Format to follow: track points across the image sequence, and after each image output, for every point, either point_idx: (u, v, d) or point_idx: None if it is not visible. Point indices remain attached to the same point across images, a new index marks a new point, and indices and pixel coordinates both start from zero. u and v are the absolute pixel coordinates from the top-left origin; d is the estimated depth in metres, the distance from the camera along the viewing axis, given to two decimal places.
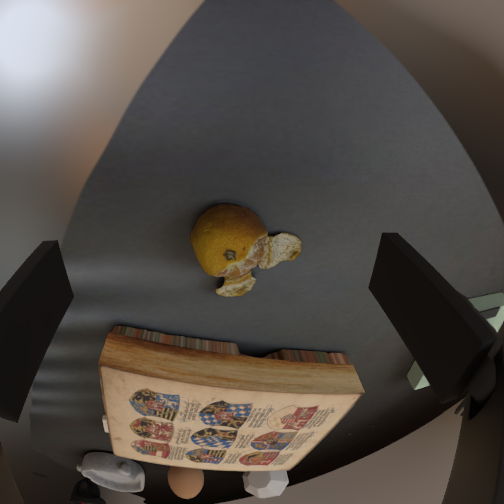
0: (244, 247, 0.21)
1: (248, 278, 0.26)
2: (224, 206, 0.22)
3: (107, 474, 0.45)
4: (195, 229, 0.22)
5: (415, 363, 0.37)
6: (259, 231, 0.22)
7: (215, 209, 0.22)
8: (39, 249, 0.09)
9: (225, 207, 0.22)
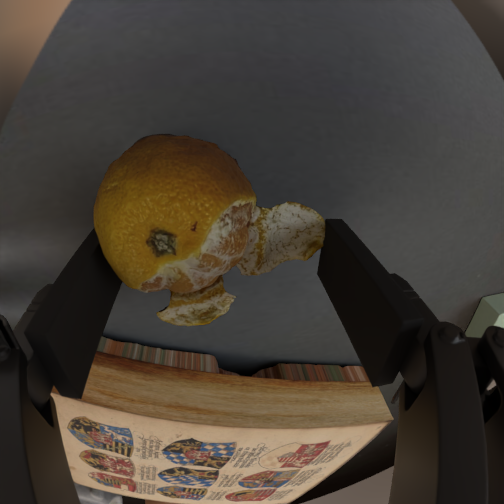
0: (194, 224, 0.08)
1: (217, 294, 0.13)
2: (161, 137, 0.09)
3: None
4: None
5: None
6: (235, 187, 0.09)
7: (141, 142, 0.09)
8: (95, 231, 0.11)
9: (163, 139, 0.09)
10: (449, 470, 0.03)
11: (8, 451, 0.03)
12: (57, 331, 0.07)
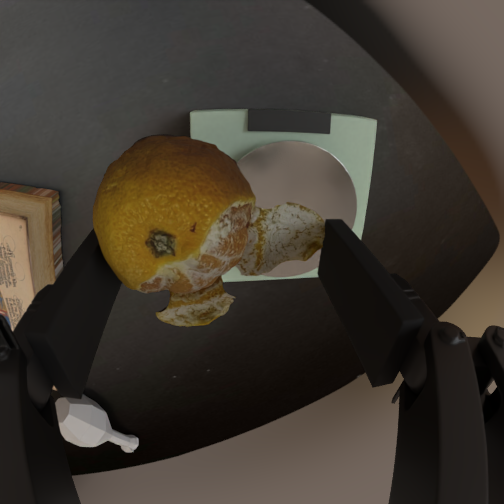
0: (193, 225, 0.08)
1: (217, 295, 0.13)
2: (161, 137, 0.09)
3: None
4: (99, 188, 0.09)
5: None
6: (234, 188, 0.09)
7: (140, 143, 0.09)
8: None
9: (163, 139, 0.09)
10: (449, 470, 0.03)
11: (8, 451, 0.03)
12: (57, 331, 0.07)
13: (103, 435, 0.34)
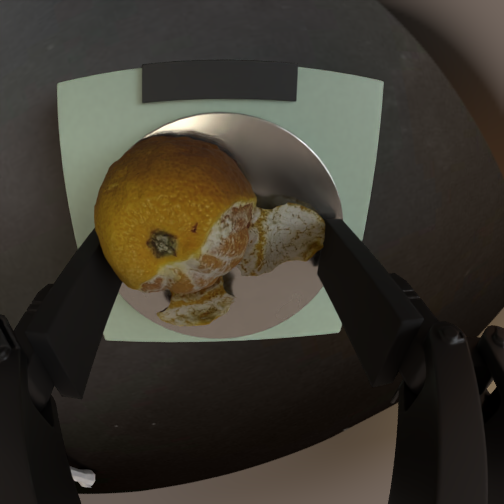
0: (194, 225, 0.08)
1: (218, 295, 0.13)
2: (162, 138, 0.09)
3: None
4: (100, 188, 0.09)
5: None
6: (235, 188, 0.09)
7: (141, 143, 0.09)
8: None
9: (164, 140, 0.09)
10: (448, 470, 0.03)
11: (9, 451, 0.03)
12: (58, 331, 0.07)
13: None
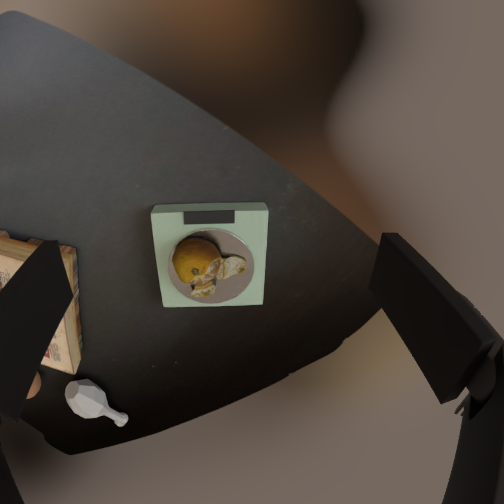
0: (203, 267, 0.34)
1: (210, 285, 0.38)
2: (192, 240, 0.35)
3: None
4: (174, 254, 0.35)
5: None
6: (214, 256, 0.35)
7: (187, 241, 0.35)
8: (39, 249, 0.09)
9: (193, 240, 0.35)
10: None
11: None
12: None
13: (102, 409, 0.49)
